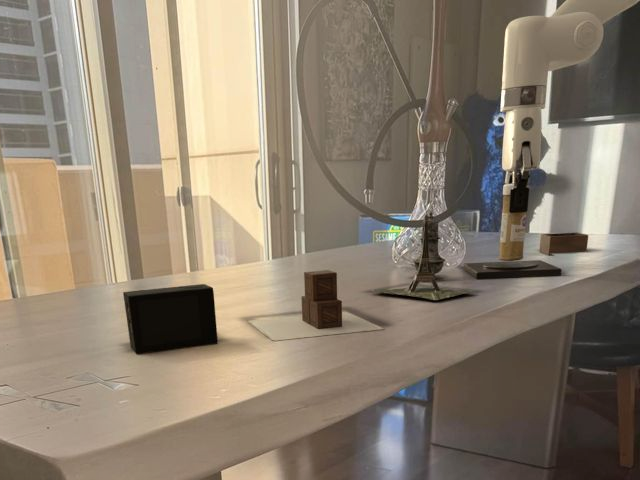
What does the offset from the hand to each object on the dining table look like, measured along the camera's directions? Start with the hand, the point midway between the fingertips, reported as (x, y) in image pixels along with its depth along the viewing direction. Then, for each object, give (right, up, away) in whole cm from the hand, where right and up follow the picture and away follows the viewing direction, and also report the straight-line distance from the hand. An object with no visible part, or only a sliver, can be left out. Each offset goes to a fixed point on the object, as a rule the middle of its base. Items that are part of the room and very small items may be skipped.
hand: (514, 210), depth 129 cm
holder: (+21, +2, +30) cm, 37 cm away
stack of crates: (-39, -29, -34) cm, 59 cm away
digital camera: (-57, -33, -41) cm, 78 cm away
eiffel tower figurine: (-20, -20, -15) cm, 32 cm away
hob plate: (0, -10, +4) cm, 11 cm away
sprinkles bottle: (0, -8, +4) cm, 9 cm away
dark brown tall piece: (-16, -13, +1) cm, 21 cm away
